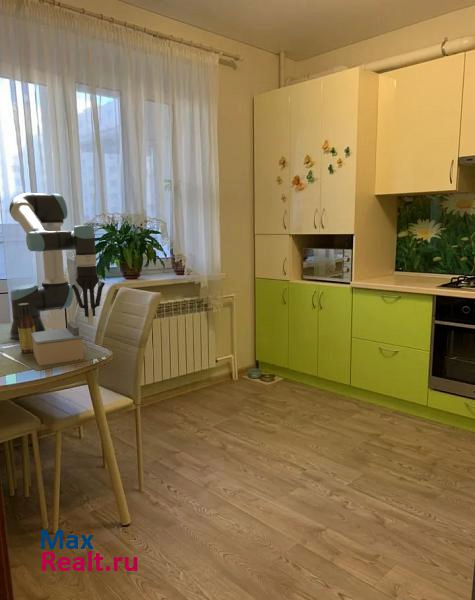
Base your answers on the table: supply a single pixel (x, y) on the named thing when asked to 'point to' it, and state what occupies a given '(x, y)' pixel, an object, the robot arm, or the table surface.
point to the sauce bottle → (25, 328)
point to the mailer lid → (57, 334)
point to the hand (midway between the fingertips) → (90, 324)
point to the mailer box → (58, 351)
